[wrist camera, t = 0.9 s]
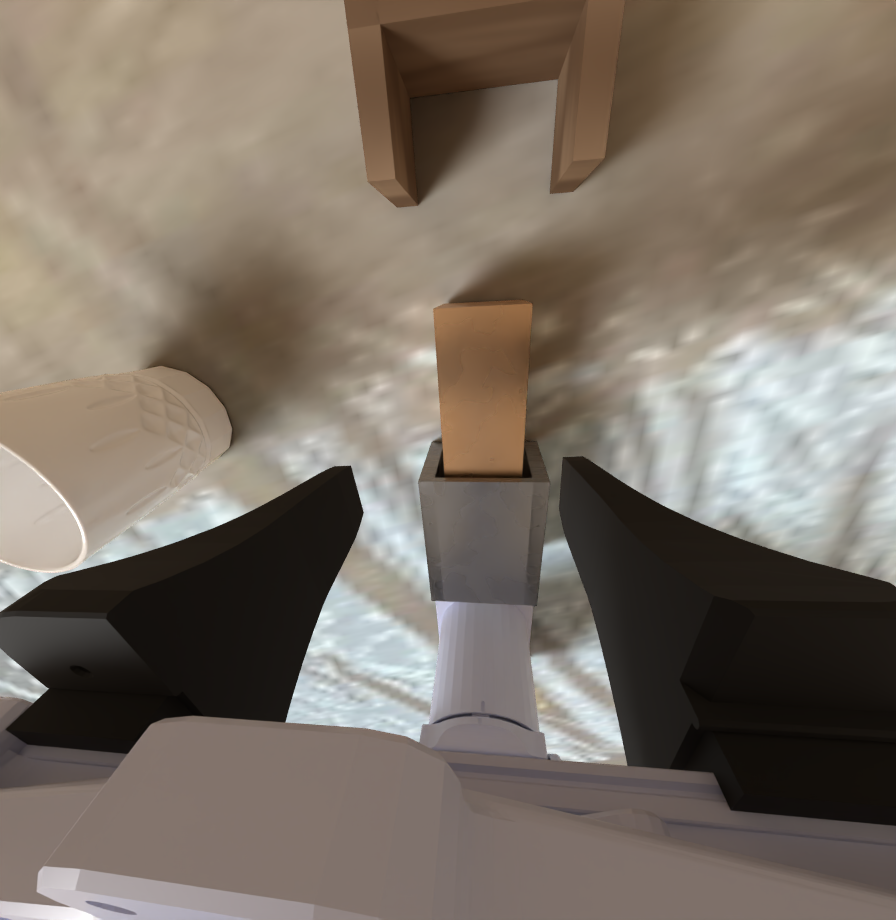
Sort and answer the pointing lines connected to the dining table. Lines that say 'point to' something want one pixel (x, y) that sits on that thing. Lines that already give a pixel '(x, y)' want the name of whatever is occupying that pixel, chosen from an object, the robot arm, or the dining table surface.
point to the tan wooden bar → (483, 386)
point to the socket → (481, 73)
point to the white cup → (98, 459)
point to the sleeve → (484, 531)
